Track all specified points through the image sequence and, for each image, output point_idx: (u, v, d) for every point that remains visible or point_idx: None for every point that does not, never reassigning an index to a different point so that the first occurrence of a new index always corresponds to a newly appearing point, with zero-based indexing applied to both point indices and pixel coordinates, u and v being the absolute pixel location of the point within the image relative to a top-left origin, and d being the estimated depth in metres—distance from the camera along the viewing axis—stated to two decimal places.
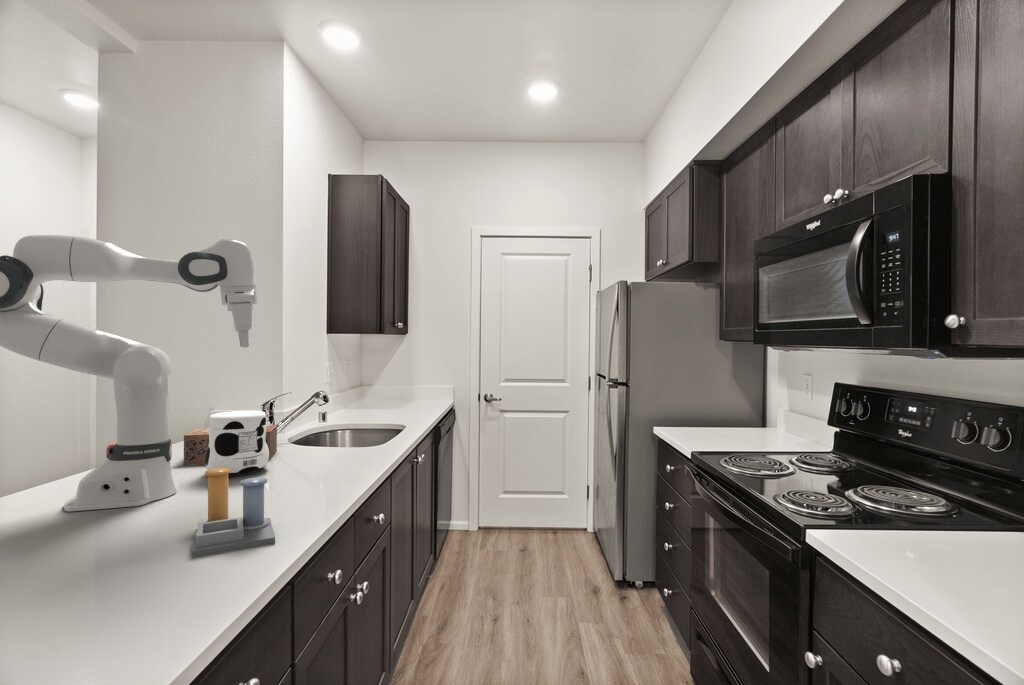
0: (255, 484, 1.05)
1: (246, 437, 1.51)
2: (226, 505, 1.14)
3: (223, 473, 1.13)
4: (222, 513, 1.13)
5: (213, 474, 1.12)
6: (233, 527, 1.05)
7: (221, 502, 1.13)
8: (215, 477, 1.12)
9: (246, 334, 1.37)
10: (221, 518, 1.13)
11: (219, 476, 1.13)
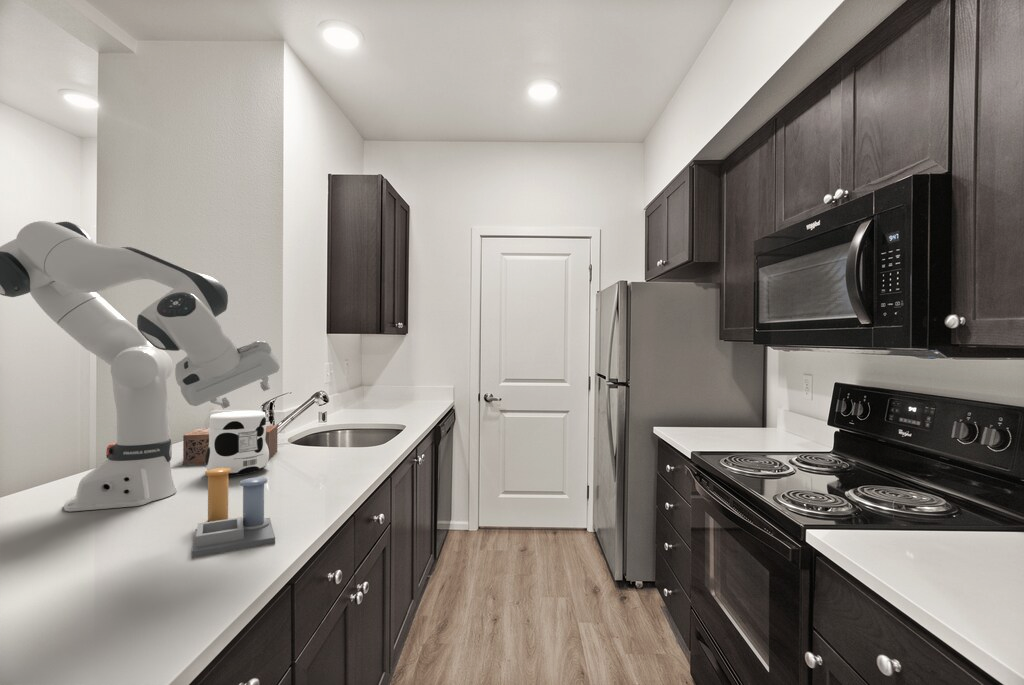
0: (255, 484, 1.05)
1: (246, 437, 1.51)
2: (226, 505, 1.14)
3: (223, 473, 1.13)
4: (222, 513, 1.13)
5: (213, 474, 1.12)
6: (233, 527, 1.05)
7: (221, 502, 1.13)
8: (215, 477, 1.12)
9: None
10: (221, 518, 1.13)
11: (219, 476, 1.13)
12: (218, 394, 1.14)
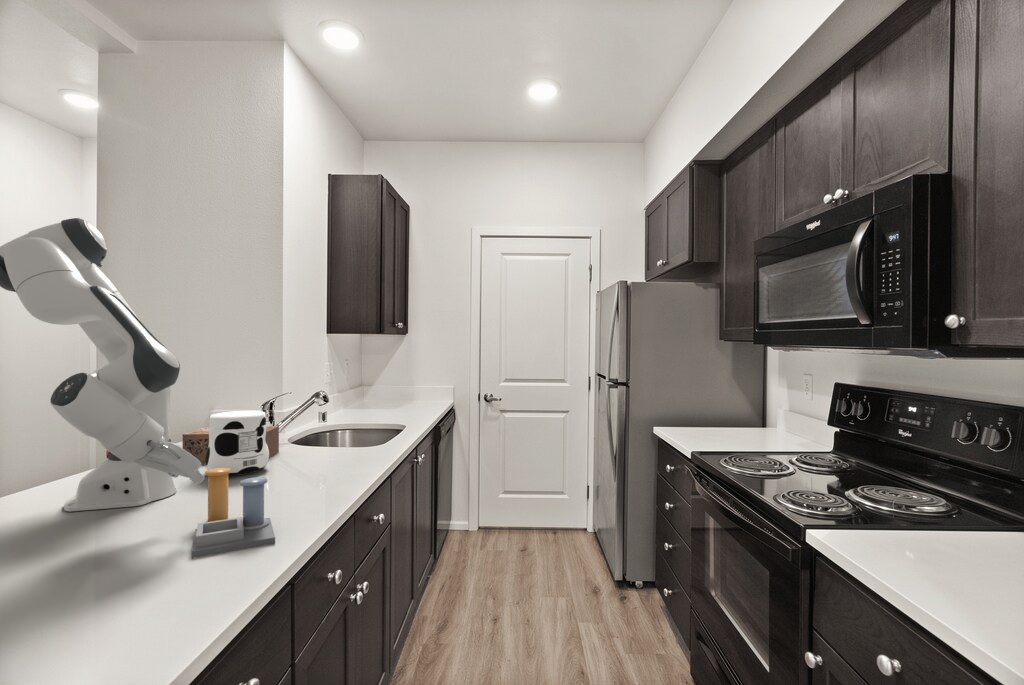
0: (255, 484, 1.05)
1: (246, 437, 1.51)
2: (226, 505, 1.14)
3: (223, 473, 1.13)
4: (222, 513, 1.13)
5: (213, 474, 1.12)
6: (233, 527, 1.05)
7: (221, 502, 1.13)
8: (215, 477, 1.12)
9: None
10: (221, 518, 1.13)
11: (219, 476, 1.13)
12: (152, 467, 1.07)
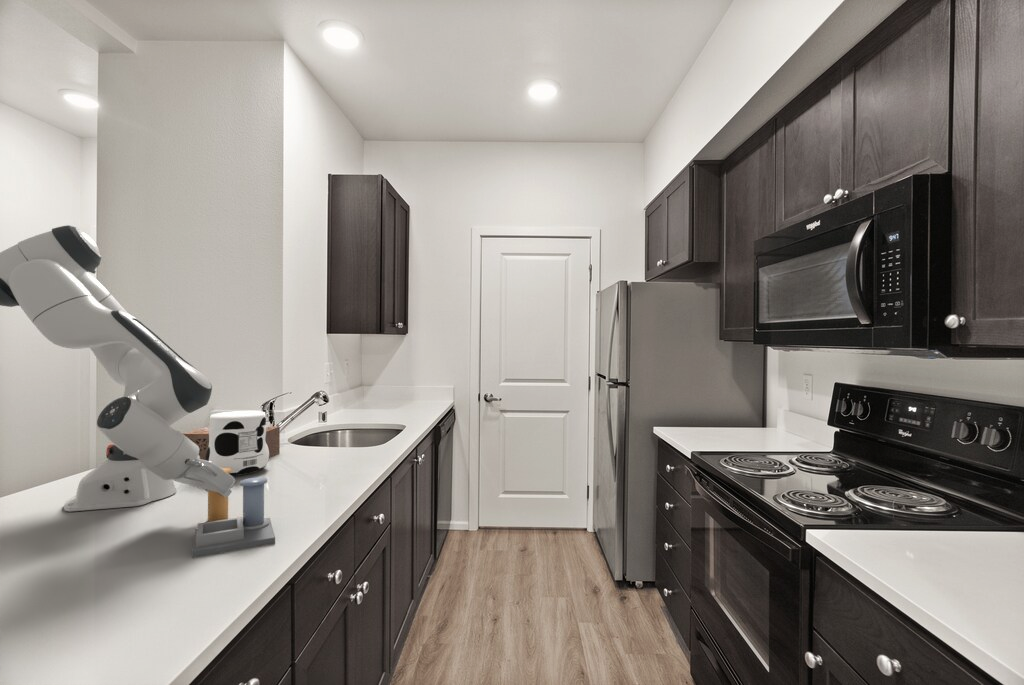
0: (255, 484, 1.05)
1: (247, 437, 1.51)
2: (226, 505, 1.14)
3: None
4: (222, 513, 1.13)
5: None
6: (233, 527, 1.05)
7: (221, 502, 1.13)
8: None
9: None
10: (221, 518, 1.13)
11: None
12: (187, 483, 1.12)
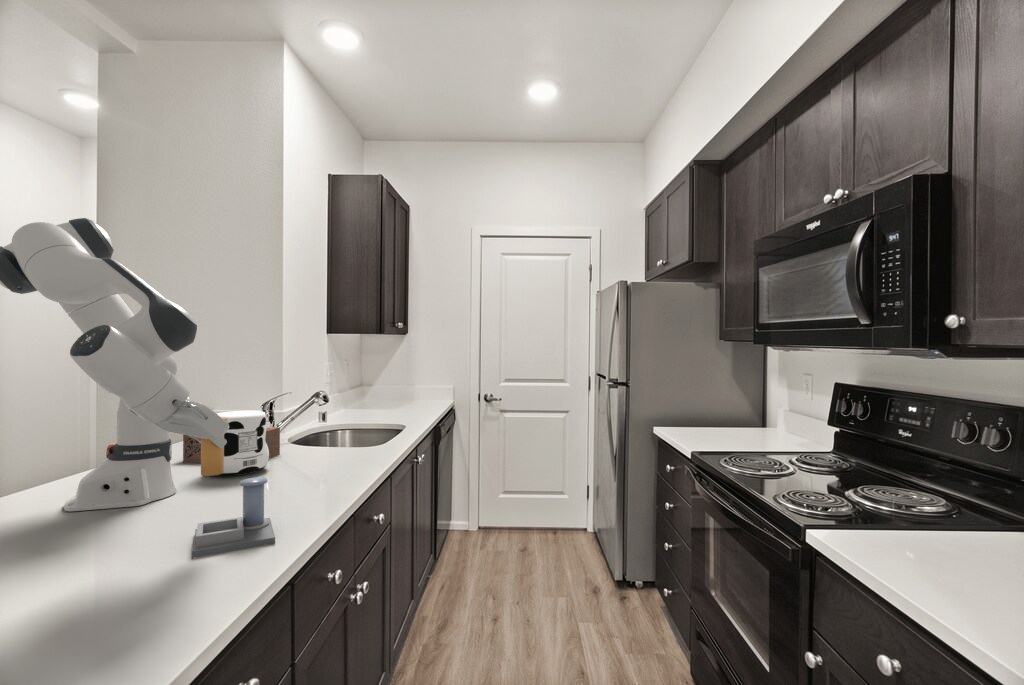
0: (255, 484, 1.05)
1: (246, 437, 1.51)
2: (221, 457, 1.02)
3: None
4: (217, 466, 1.01)
5: None
6: (233, 527, 1.05)
7: (215, 453, 1.00)
8: None
9: None
10: (215, 472, 1.00)
11: None
12: (177, 432, 1.00)
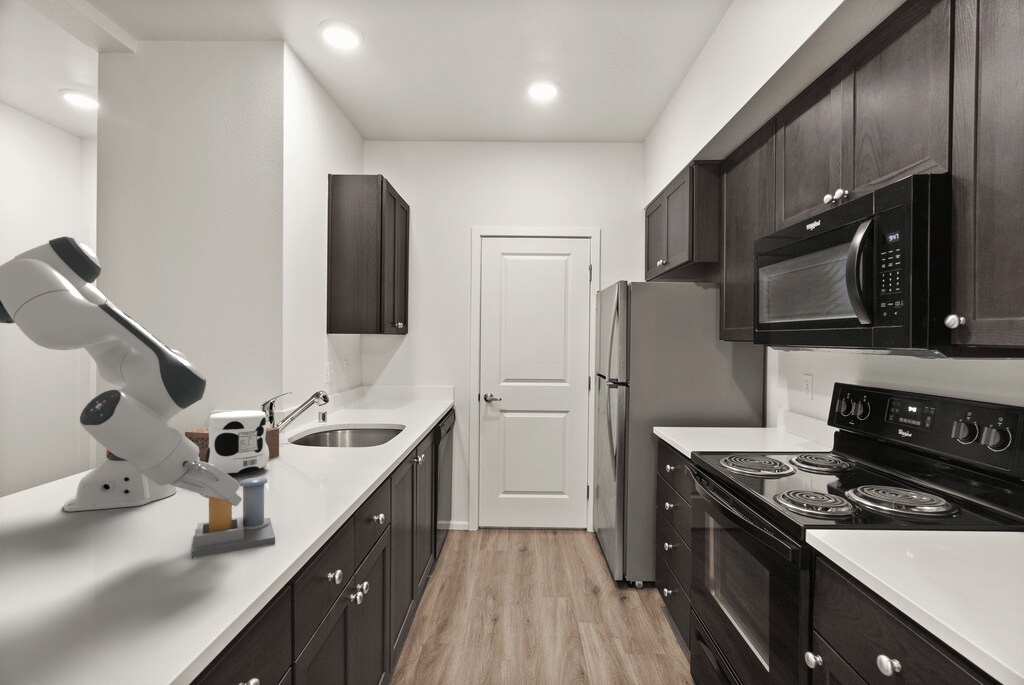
0: (255, 484, 1.05)
1: (246, 437, 1.51)
2: (229, 520, 1.01)
3: None
4: (225, 529, 1.00)
5: None
6: (233, 527, 1.05)
7: (223, 517, 1.00)
8: None
9: None
10: None
11: None
12: (185, 488, 0.99)
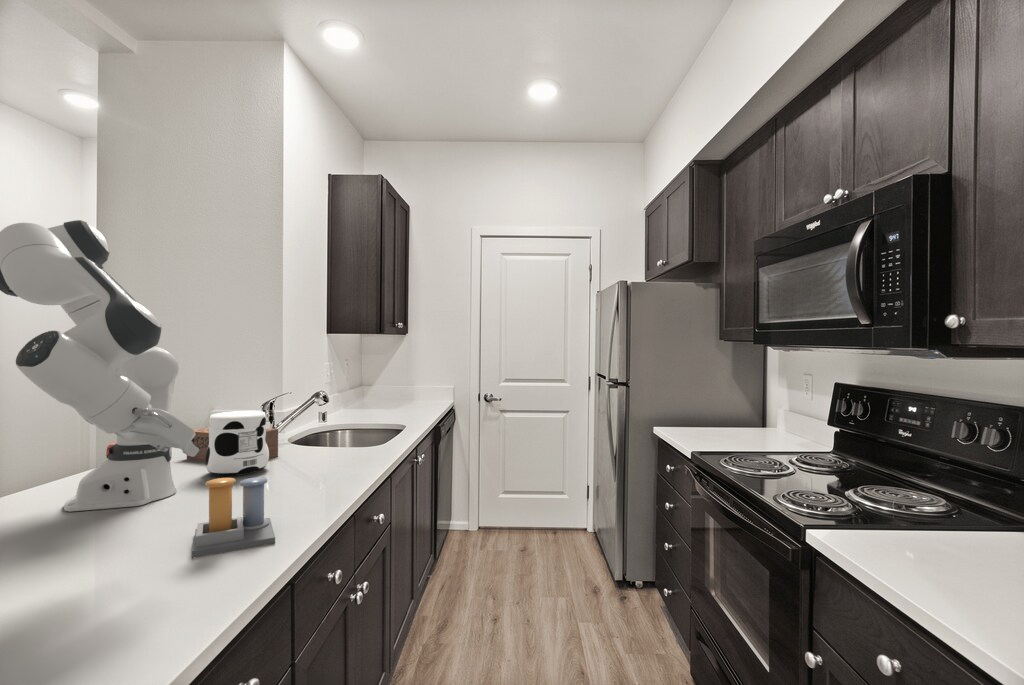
0: (255, 484, 1.05)
1: (246, 437, 1.51)
2: (229, 520, 1.01)
3: (226, 484, 1.00)
4: (225, 529, 1.00)
5: (215, 485, 0.99)
6: (233, 527, 1.05)
7: (223, 517, 1.00)
8: (216, 488, 0.99)
9: None
10: None
11: (221, 488, 1.00)
12: (139, 440, 0.95)
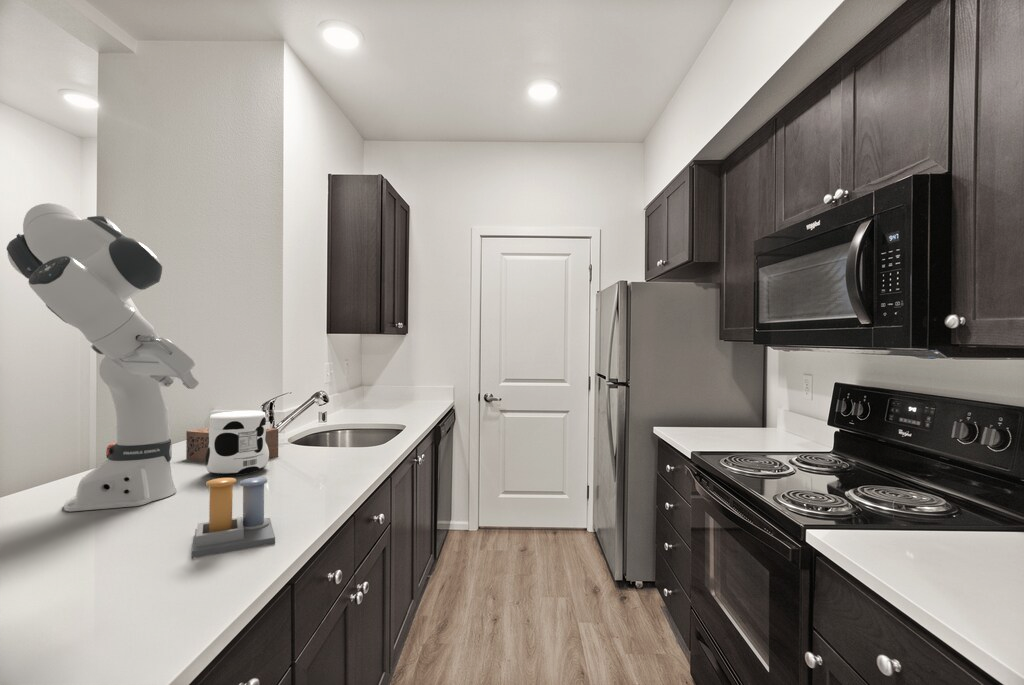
0: (255, 484, 1.05)
1: (246, 437, 1.51)
2: (230, 520, 1.01)
3: (227, 484, 1.00)
4: (225, 529, 1.00)
5: (215, 485, 0.99)
6: (233, 527, 1.05)
7: (224, 516, 1.00)
8: (217, 488, 0.99)
9: None
10: None
11: (222, 487, 1.00)
12: (142, 372, 0.99)
